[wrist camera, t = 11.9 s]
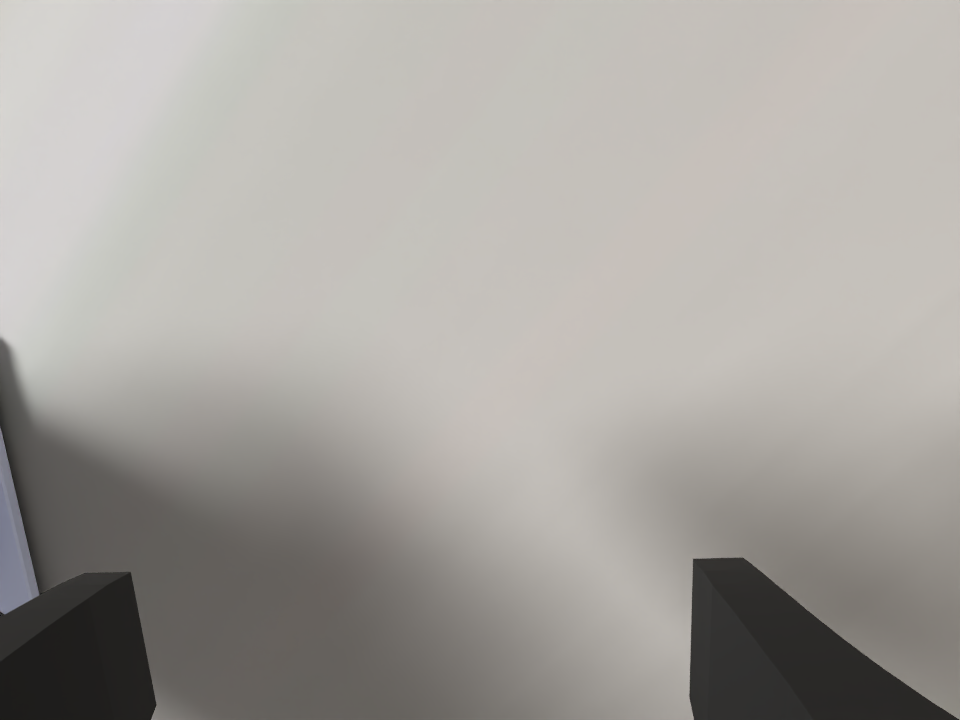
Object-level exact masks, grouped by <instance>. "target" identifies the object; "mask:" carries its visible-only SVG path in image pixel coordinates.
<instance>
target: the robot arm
mask: <svg viewBox="0 0 960 720" xmlns="http://www.w3.org/2000/svg"><path fill="white" fill-rule="evenodd" d="M0 612H2V613H3V614H5V615H3V616H1V617H0V720H151V718H152V715H153V712H154V710H155V707H156V701H155V695H154V690H153V685H152V680H151V675H150V670H149V664H148V659H147V654H146V649H145V644H144V639H143V634H142V628H141V623H140V618H139V613H138V608H137V603H136V598H135V592H134V587H133V582H132V577H131V572H115V573H84V574H82V575H80V576H77V577H75V578H73V579H70V580H68V581H66V582H64V583H62V584H60V585H58V586H56V587H54V588H52V589H50V590H48V591H46V592H45V593H43V594H41V595H39V591H38V587H37V582H36V578H35V574H34V570H33V565H32V561H31V557H30V552H29V548H28V544H27V539H26V535H25V531H24V526H23V522H22V518H21V514H20V509H19V505H18V501H17V496H16V492H15V488H14V483H13V479H12V475H11V470H10V466H9V462H8V458H7V453H6V449H5V445H4V440H3V436H2V432H1V427H0ZM690 702H691V706H692V711H693V716H694V720H959V719H957V718H956V717H954V716H953V715H951V714H949V713H948V712H946V711H945V710H943V709H942V708H940V707H939V706H937V705H935V704H934V703H932V702H931V701H929V700H928V699H926V698H925V697H923V696H922V695H921V694H919V693H918V692H916V691H915V690H913V689H912V688H910V687H909V686H908V685H906V684H905V683H903V682H902V681H900V680H899V679H897V678H896V677H895V676H893V675H892V674H890V673H889V672H887V671H886V670H884V669H883V668H882V667H880V666H879V665H877V664H876V663H875V662H873V661H872V660H871V659H869V658H868V657H867V656H865V655H864V654H863V653H861V652H860V651H859V650H857V649H856V648H855V647H853V646H852V645H851V644H849V643H848V642H847V641H845V640H844V639H843V638H841V637H840V636H839V635H838V634H836V633H835V632H834V631H833V630H831V629H830V628H829V627H827V626H826V625H825V624H824V623H822V622H821V621H820V620H819V619H817V618H816V617H815V616H814V615H813V614H811V613H810V612H809V611H808V610H806V609H805V608H804V607H803V606H801V605H800V604H799V603H798V602H797V601H795V600H794V599H793V598H792V597H791V596H789V595H788V594H787V593H786V592H785V591H783V590H782V589H781V588H780V587H779V586H777V585H776V584H775V583H774V582H773V581H771V580H770V579H769V578H768V577H767V576H765V575H764V574H763V573H762V572H760V571H759V570H758V569H757V568H756V567H754V566H753V565H752V564H751V563H749V562H748V561H747V560H745V559H744V558H711V559H693V588H692V625H691V662H690Z"/></svg>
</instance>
